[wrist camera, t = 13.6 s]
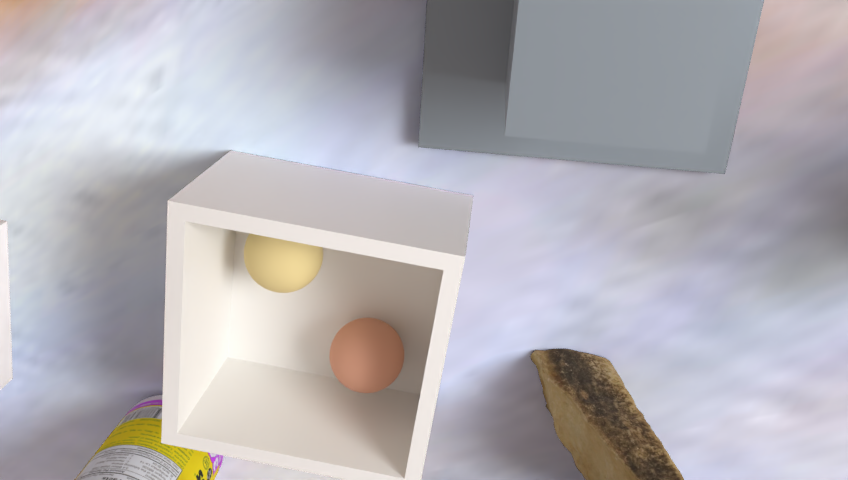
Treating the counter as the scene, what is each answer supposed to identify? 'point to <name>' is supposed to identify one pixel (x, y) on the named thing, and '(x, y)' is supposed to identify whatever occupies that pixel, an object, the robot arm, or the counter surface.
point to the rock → (600, 419)
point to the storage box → (307, 316)
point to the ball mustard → (281, 263)
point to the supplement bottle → (147, 451)
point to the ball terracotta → (366, 355)
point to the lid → (588, 79)
